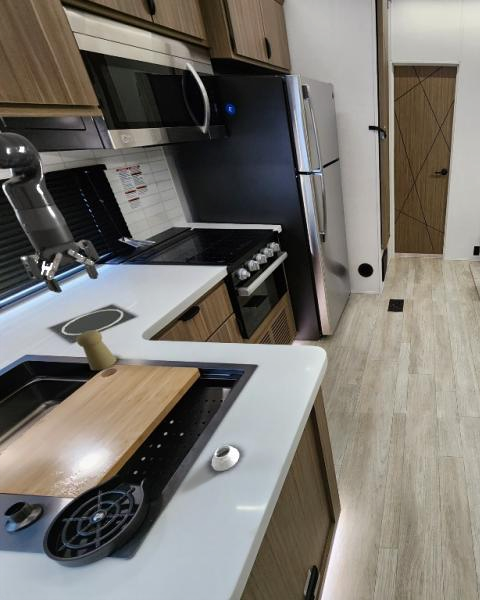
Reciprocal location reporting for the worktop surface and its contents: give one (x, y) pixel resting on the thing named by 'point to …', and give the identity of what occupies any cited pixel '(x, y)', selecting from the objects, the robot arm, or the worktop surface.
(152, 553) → the worktop surface
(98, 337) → the cork
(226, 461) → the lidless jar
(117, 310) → the slate board
